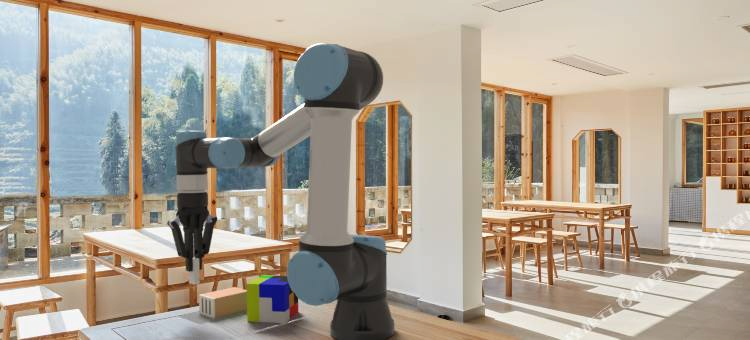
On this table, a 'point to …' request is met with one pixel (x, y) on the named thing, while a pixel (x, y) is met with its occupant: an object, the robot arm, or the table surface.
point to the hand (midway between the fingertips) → (194, 283)
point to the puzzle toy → (271, 300)
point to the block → (223, 302)
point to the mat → (205, 317)
